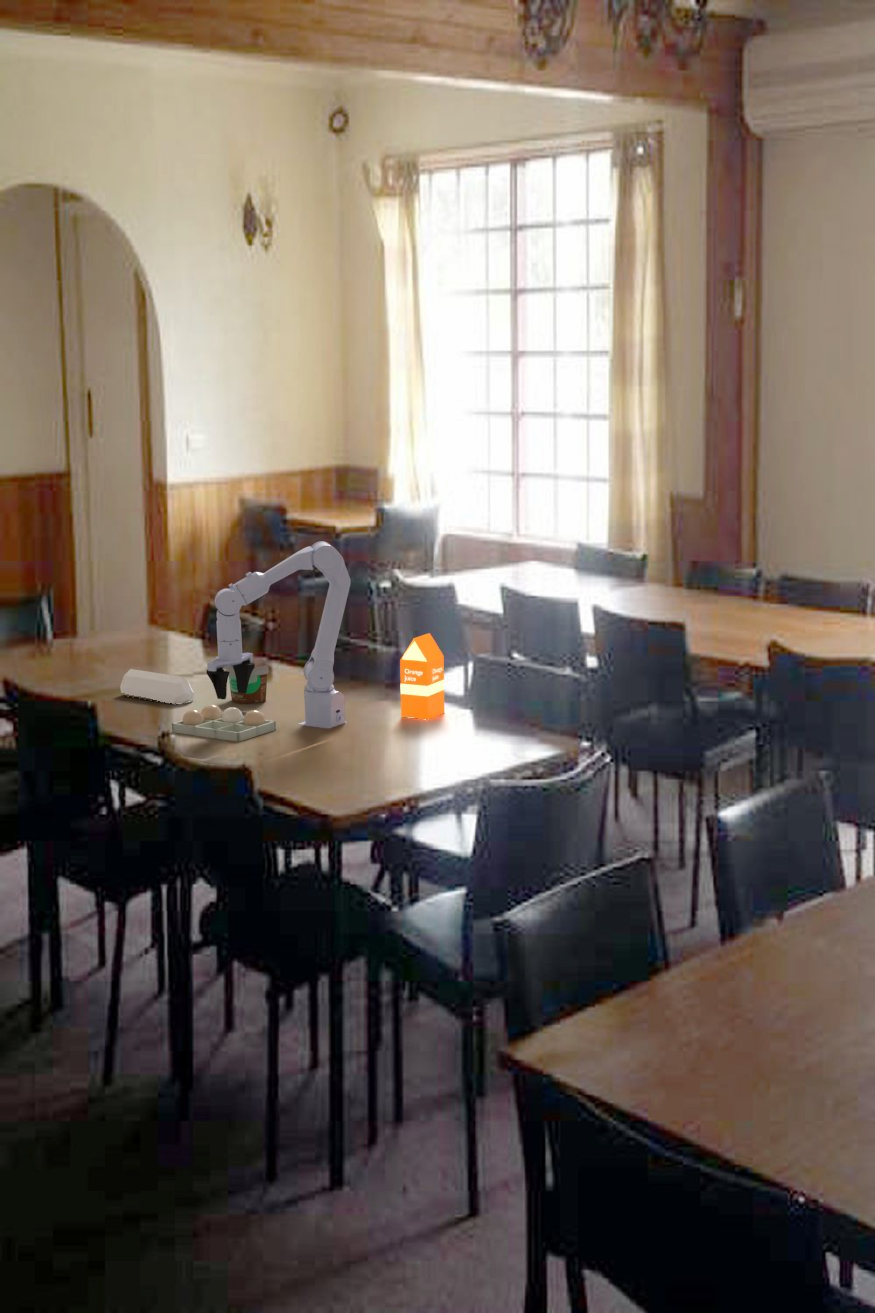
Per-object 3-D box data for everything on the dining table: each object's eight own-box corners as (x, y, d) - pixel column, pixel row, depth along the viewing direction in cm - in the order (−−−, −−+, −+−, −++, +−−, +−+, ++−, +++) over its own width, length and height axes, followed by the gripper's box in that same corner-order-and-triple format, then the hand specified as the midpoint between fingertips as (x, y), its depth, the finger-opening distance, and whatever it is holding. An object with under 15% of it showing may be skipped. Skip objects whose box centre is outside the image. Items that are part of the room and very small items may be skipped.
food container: (217, 704, 423) (215, 665, 422) (230, 699, 429) (229, 661, 427) (257, 708, 418) (255, 669, 416) (270, 703, 423) (269, 665, 421)
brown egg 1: (208, 729, 392) (207, 708, 392) (194, 733, 388) (193, 712, 387) (192, 727, 395) (191, 706, 394) (178, 731, 391) (177, 710, 390)
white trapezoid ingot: (204, 686, 428) (141, 676, 442) (186, 676, 422) (123, 667, 436) (195, 713, 426) (132, 702, 440) (177, 703, 420) (113, 693, 435)
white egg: (247, 726, 394) (246, 706, 394) (234, 730, 390) (233, 710, 389) (231, 724, 397) (230, 704, 396) (217, 728, 393) (217, 708, 392)
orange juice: (400, 717, 405) (399, 637, 401) (417, 710, 412) (416, 631, 409) (428, 720, 401) (427, 639, 397) (445, 713, 409) (444, 633, 405)
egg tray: (276, 732, 391) (275, 721, 391) (238, 744, 380) (238, 733, 379) (210, 722, 402) (209, 712, 402) (172, 734, 391) (171, 723, 390)
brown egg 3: (269, 730, 391) (268, 709, 390) (256, 734, 387) (255, 713, 386) (253, 727, 394) (252, 707, 393) (239, 731, 389) (238, 711, 388)
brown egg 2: (226, 723, 398) (225, 703, 397) (213, 728, 394) (212, 707, 393) (210, 721, 401) (209, 701, 400) (197, 725, 396) (196, 705, 396)
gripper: (236, 633, 398) (238, 688, 400) (196, 643, 386) (199, 699, 388) (258, 635, 394) (261, 691, 397) (219, 645, 382) (222, 702, 385)
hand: (232, 695), depth 392 cm, fingers open, 7 cm apart
